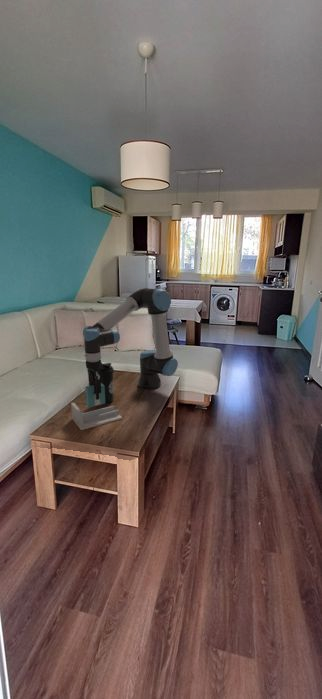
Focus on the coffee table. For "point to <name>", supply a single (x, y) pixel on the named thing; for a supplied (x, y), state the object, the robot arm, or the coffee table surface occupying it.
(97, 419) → the track
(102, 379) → the water bottle
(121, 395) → the coffee table surface
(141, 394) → the coffee table surface
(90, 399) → the teal sliding block
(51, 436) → the coffee table surface
